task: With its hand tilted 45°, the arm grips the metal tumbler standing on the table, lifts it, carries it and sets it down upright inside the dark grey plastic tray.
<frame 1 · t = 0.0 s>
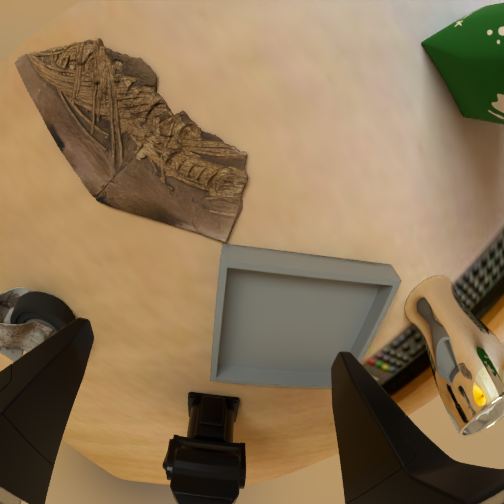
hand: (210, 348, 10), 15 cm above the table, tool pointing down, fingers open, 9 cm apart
milk carton: (466, 64, 16), on the table
metal tumbler: (428, 298, 28), on the table
tray: (294, 321, 29), on the table
caster wheel: (40, 306, 29), on the table
wooden fragment: (113, 126, 20), on the table
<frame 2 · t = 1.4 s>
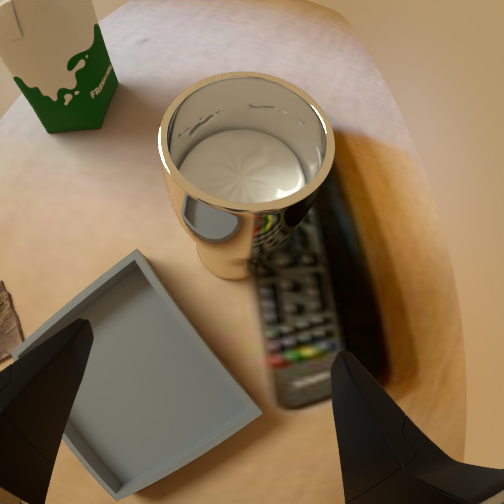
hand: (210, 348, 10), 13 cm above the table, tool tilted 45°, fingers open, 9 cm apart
milk carton: (83, 107, 27), on the table
metal tumbler: (233, 243, 25), on the table
tray: (127, 384, 21), on the table
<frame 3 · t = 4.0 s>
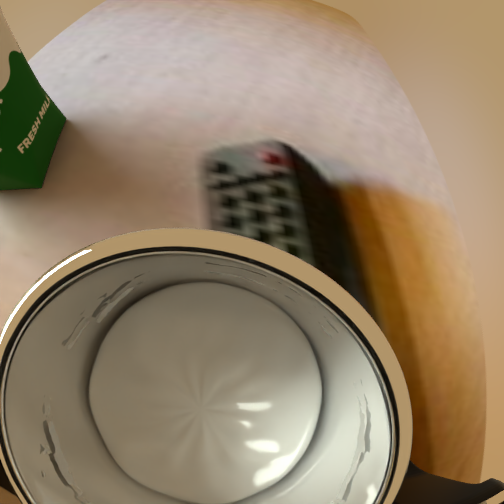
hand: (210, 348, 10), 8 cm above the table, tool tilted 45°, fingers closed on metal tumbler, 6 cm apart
milk carton: (26, 155, 20), on the table
metal tumbler: (214, 364, 18), on the table, touching gripper
when the fingers open (10 cm above the table, at t = 7.7 s): metal tumbler stays where it is, resting on tray.
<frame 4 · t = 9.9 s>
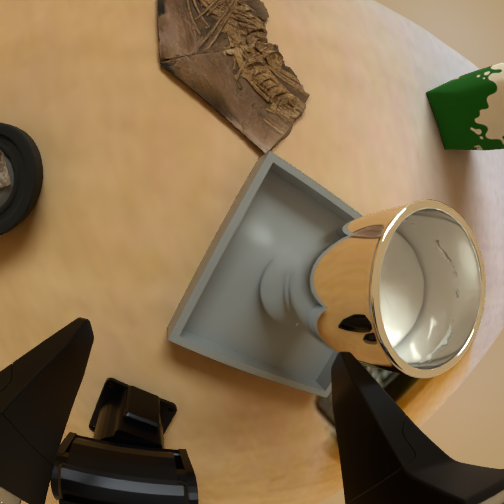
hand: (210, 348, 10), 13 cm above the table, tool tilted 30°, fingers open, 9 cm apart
milk carton: (449, 119, 29), on the table
metal tumbler: (296, 290, 24), point 1 cm above the table, touching tray
tray: (292, 285, 25), on the table
caster wheel: (0, 165, 17), on the table
wooden fragment: (211, 28, 21), on the table
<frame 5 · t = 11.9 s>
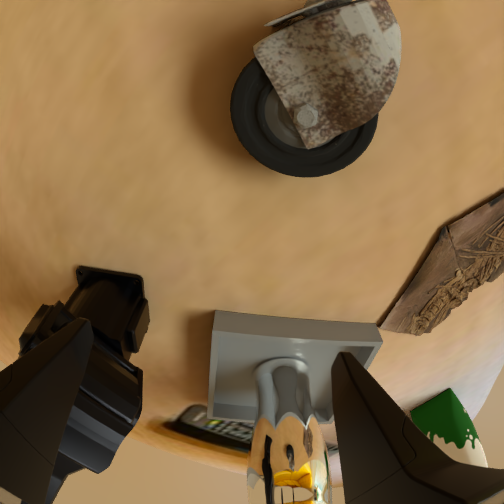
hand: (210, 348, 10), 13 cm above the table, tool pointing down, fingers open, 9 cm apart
milk carton: (434, 405, 37), on the table
metal tumbler: (281, 373, 30), resting on tray
tray: (283, 370, 30), on the table
caster wheel: (314, 85, 17), on the table
wooden fragment: (478, 244, 23), on the table
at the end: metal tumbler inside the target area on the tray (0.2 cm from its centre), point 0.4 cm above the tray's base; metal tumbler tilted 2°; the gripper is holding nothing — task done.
